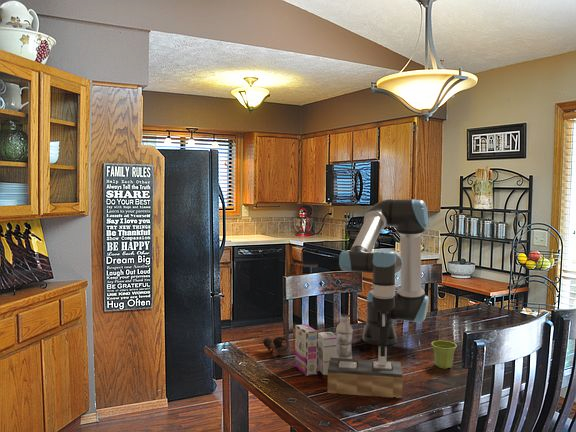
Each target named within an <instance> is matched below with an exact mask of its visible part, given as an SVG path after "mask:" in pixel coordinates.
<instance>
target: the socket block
mask: <svg viewBox="0 0 576 432" xmlns="http://www.w3.org/2000/svg"><path fill="white" fill-rule="evenodd" d="M339 361H347V362H357V369H354V368H338V367H339ZM373 361H376V362H378V359H377V360H376V359H374V360H373V359H360V358H353V359H346V358H330V362H329V367H328V375H327V393H328V394H337V393H338V394H340V395H354V396H355V395H356V396H366V397H367V396H369V397H379V396H380V398H381V397H382V398H393V397H396V398H395V399H403V377H404V376H403V375H404V374H403V370H402V363H401V361H390V360H387V361H386V362H391V367H392V371H385V370H373Z"/></svg>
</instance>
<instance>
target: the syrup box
mask: <svg viewBox="0 0 576 432" xmlns="http://www.w3.org/2000/svg"><path fill="white" fill-rule="evenodd" d="M337 347H338V343H337V334H335V333H334V332H332V331H322V332H318V366H317V367H318V368H317V371H318V372H319V373H321V374H322V375H323V376H328V367H329V362H330V358H337Z"/></svg>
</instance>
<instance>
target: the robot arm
mask: <svg viewBox="0 0 576 432" xmlns="http://www.w3.org/2000/svg"><path fill="white" fill-rule="evenodd" d="M386 227H388V228H389V227H392V228H396V229H395V231H396V233H397V234H398V235H399V245H400V246H399V248H400V249H399V252H400V254H399V253H397V252H395V251H393V250H386V249H385V250H383V249H380V250H375V251H374V252H373V249H374V247H375V245H376V242H377V240H378V238H379V235H380V233H381V231H383V230H384V229H385V228H386ZM428 227H429V211H428V207H427V204H426V203H425V201H424V200H422V199H405V198H404V199H391V198H389V199H384V200H381V201H379V202H376V203H375V204H374V205H372V206H371V207H370V208H369V209H368V210H367V211H366V213H365V214H364V216H363V225H362V226H361V228H360V231H359V232H358V234H357V235H356V238H355V240H354V242H353V244H352V246H351V247H350V250H349V249H348V250H343V251H341V252H340V254H339V258H338V265H339V268H340V270H341V271H346V272H350V273H369V274H372V285H371V286H370V289H371V290H370V291H368V293H367V295H366V296H367V297H366V324H365V327H364V329H363V333H362V341H363V342H364V343H366V344H369V345H373V346H376V347H377V348H378V353H377V354H378V355H377V356H378V358H377V360H378V365H386V361H388V360H387V352H388V351H387V350H388V346H393V345H394V344H396V343H397V341H398V340H397V339H398V337H397V334H396V330H395V327H394V320H395V321H396V320H397V321H404V322H412V323H423V322H425V319H426V317H427V311H428V309H429V308H428V307H429V302H430V301H429V300H430V298H429V296H428V295H426V292H425V290H424V288H422V235H423V234H424V233H425V229H427V228H428ZM399 271H400V288H398V289H397V290H396V274H397V273H399ZM396 291H397V292H396Z"/></svg>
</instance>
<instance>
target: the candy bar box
mask: <svg viewBox="0 0 576 432" xmlns="http://www.w3.org/2000/svg"><path fill="white" fill-rule="evenodd" d="M294 327H295V333H294V338H295V341H294V346H295V347H294V367H295V368H296V369H297V370H299V371H300V372H301V373H302V374H303V375H304V376H305V377H309V376H316V375H318V333H319V331H318V330H316V329H315V328H313V327H311V326H310V325H309V324H306V323H303V324H296V325H294Z"/></svg>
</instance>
